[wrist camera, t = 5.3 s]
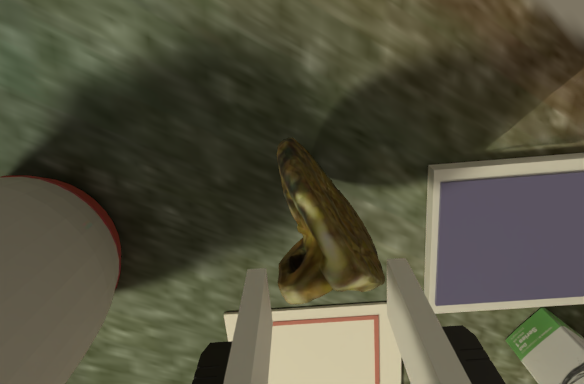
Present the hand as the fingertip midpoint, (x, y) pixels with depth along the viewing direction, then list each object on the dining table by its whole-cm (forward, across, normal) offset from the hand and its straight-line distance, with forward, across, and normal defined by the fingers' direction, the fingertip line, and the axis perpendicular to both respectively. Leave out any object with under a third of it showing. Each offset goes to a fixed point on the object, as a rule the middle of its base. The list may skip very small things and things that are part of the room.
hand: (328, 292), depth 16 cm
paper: (+16, -1, -20) cm, 26 cm away
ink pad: (+16, +16, -6) cm, 23 cm away
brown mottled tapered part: (+16, 0, 0) cm, 16 cm away
